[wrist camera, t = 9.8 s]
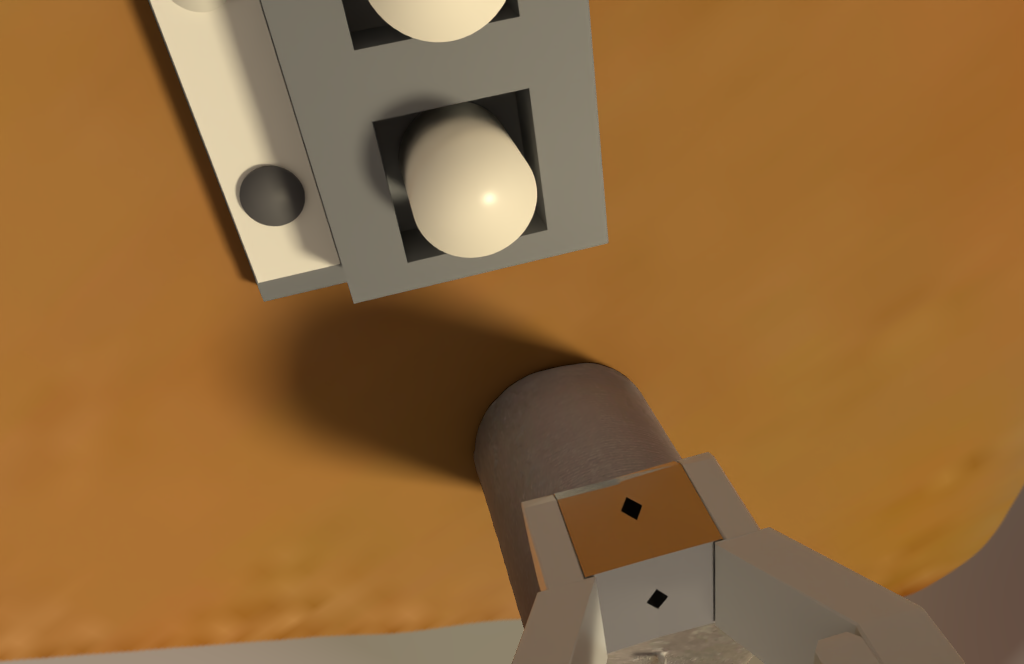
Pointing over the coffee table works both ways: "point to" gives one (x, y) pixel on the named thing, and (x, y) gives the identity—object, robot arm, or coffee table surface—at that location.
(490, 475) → the pillar candle
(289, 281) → the board
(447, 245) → the button
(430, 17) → the button
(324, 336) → the coffee table surface
